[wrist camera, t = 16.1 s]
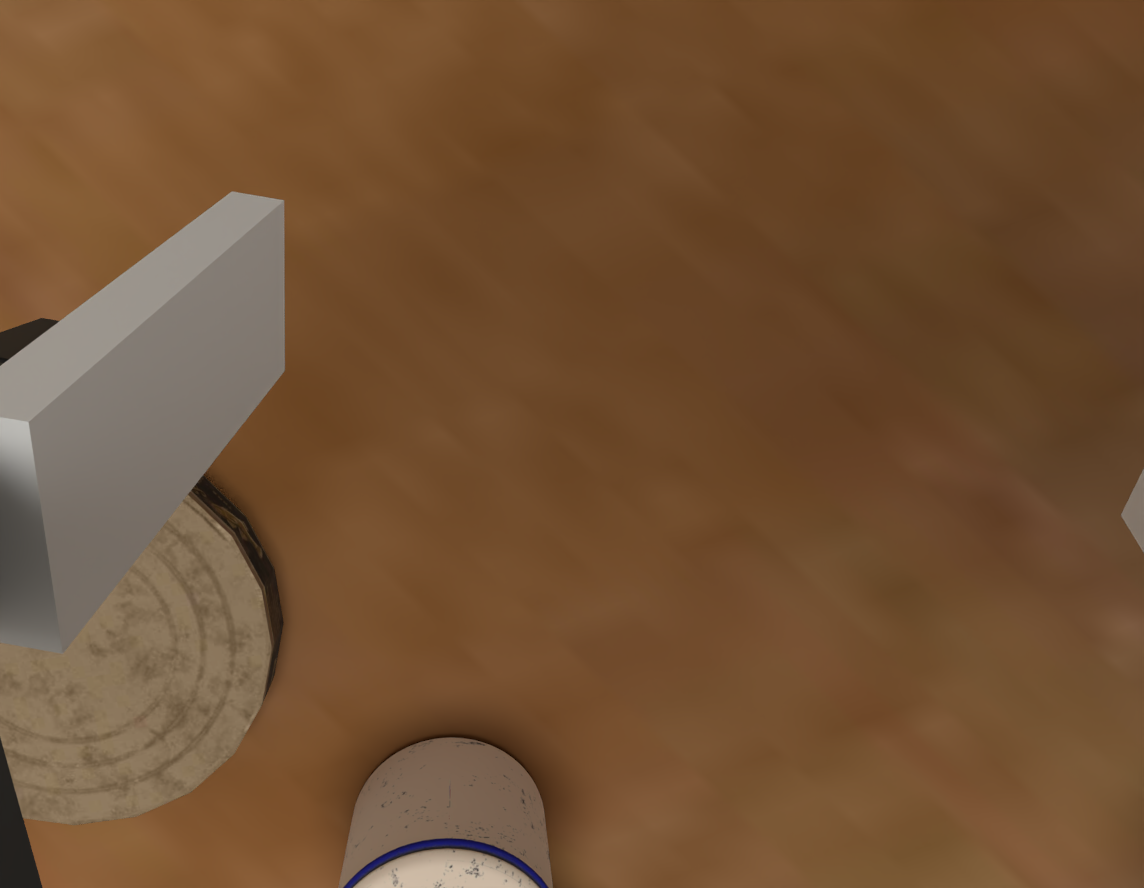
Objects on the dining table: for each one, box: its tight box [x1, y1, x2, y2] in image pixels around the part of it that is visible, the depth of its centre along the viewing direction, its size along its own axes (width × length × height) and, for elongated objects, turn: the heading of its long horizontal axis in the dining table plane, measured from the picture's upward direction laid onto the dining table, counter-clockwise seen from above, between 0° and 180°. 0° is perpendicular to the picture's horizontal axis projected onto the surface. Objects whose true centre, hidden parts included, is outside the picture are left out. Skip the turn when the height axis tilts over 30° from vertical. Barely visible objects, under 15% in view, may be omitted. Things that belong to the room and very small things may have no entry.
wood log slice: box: [0, 475, 283, 825], centre depth 43 cm, size 16×16×3 cm
